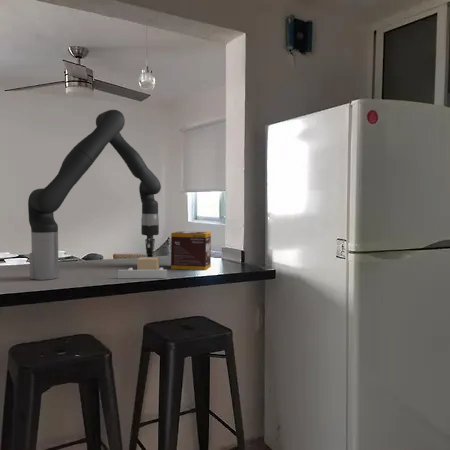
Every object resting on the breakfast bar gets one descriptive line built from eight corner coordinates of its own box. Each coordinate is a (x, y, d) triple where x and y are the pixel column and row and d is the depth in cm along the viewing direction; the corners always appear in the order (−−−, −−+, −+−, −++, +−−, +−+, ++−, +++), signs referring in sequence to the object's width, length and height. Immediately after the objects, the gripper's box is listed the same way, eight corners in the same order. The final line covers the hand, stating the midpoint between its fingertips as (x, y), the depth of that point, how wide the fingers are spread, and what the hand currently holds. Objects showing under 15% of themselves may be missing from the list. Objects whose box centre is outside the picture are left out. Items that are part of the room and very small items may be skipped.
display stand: (118, 278, 167) (118, 270, 167) (123, 272, 180) (123, 265, 180) (166, 278, 168) (166, 270, 168) (168, 272, 181) (168, 265, 181)
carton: (137, 271, 185) (137, 259, 185) (140, 268, 193) (140, 257, 192) (156, 271, 185) (156, 259, 185) (159, 268, 193) (159, 257, 192)
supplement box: (205, 270, 187) (205, 233, 186) (170, 269, 190) (170, 232, 190) (211, 266, 197) (211, 231, 197) (178, 265, 201) (178, 230, 200)
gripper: (143, 223, 202) (143, 261, 203) (139, 224, 189) (139, 265, 190) (159, 223, 203) (159, 261, 204) (157, 224, 190) (157, 265, 190)
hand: (150, 263), depth 197 cm, fingers closed
